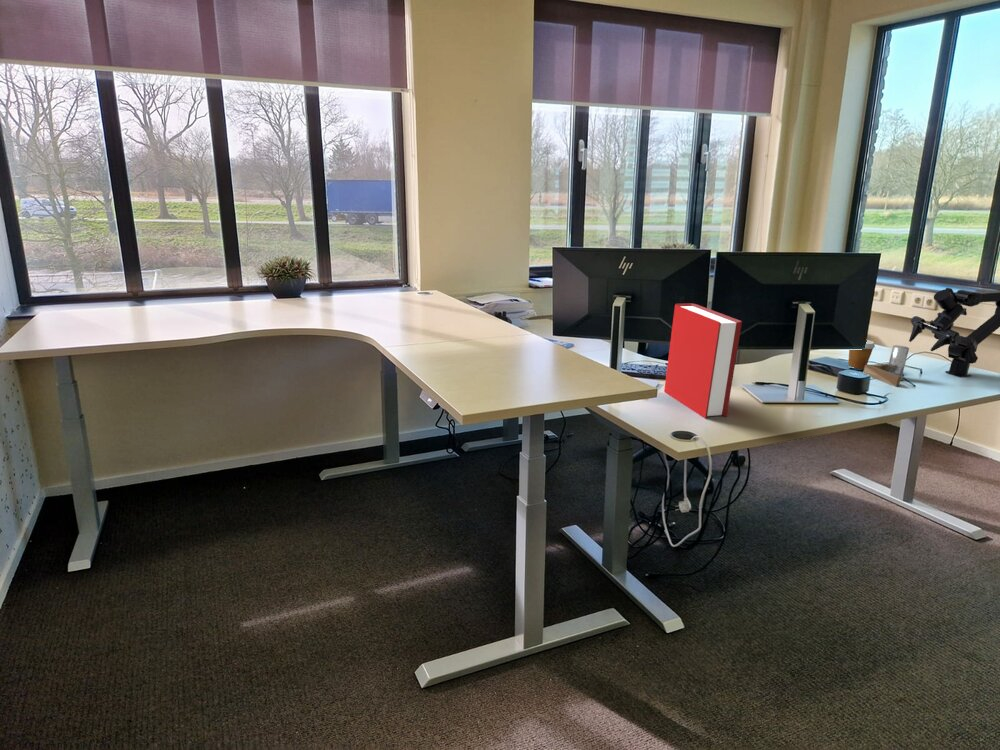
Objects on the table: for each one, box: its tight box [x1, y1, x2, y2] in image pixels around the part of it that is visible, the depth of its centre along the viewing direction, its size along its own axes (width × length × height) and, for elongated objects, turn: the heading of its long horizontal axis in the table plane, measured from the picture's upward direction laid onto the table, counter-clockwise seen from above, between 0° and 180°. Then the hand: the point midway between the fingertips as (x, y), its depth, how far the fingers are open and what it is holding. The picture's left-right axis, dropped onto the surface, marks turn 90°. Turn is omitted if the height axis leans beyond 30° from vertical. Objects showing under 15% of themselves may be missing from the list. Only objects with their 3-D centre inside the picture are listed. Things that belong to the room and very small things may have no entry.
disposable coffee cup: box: [847, 339, 876, 372], centre depth 261 cm, size 10×10×12 cm
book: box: [663, 302, 743, 419], centre depth 211 cm, size 27×8×32 cm, turn 16°
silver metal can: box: [887, 344, 910, 382], centre depth 250 cm, size 6×6×13 cm
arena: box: [863, 363, 902, 388], centre depth 250 cm, size 15×16×4 cm
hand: (920, 346), depth 251 cm, fingers open, 9 cm apart
